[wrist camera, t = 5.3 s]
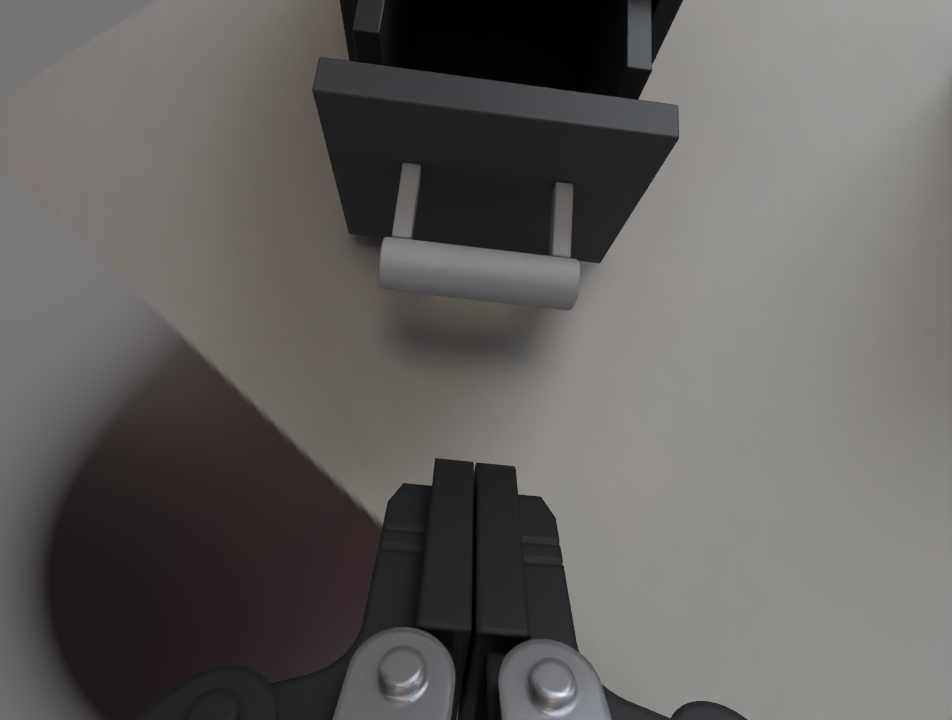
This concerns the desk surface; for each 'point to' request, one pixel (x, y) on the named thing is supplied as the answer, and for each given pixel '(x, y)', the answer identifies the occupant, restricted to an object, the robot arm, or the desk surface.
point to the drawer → (493, 140)
